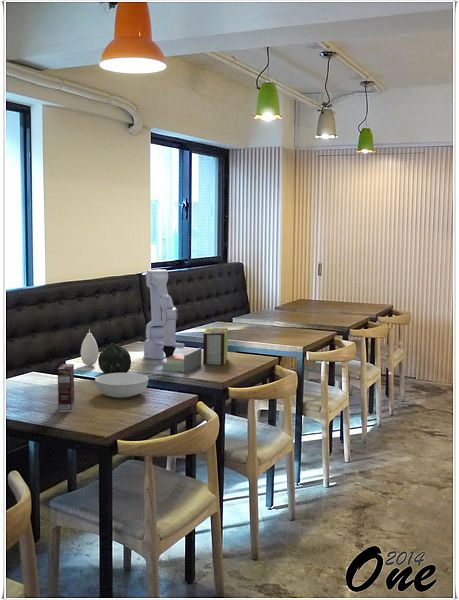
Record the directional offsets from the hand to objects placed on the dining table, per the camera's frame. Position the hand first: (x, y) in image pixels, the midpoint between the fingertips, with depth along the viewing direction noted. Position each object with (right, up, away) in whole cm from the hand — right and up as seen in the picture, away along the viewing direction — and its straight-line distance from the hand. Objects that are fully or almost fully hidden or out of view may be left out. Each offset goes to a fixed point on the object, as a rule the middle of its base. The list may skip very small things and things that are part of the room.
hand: (169, 361), depth 313 cm
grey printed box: (+7, -2, -2) cm, 8 cm away
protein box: (+22, -1, +12) cm, 25 cm away
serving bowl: (-14, -8, -52) cm, 54 cm away
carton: (+6, -2, -2) cm, 7 cm away
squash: (-23, -4, -17) cm, 29 cm away
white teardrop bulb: (-37, -2, -4) cm, 37 cm away
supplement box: (-31, -11, -72) cm, 79 cm away
